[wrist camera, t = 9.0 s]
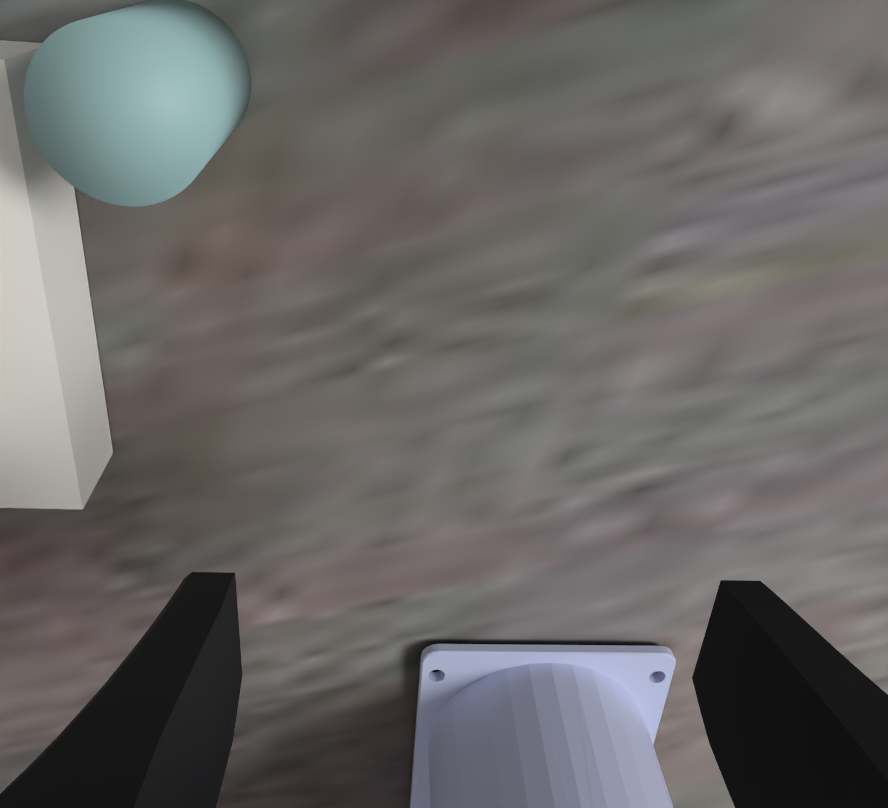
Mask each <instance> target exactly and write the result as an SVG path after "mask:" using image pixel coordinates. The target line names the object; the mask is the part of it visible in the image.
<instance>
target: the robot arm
mask: <svg viewBox="0 0 888 808" xmlns="http://www.w3.org/2000/svg"><path fill="white" fill-rule="evenodd" d="M674 668H675V658H674V655H673V653H672V651H671V650H670V649H669V648H667V647H664V646H626V645H514V644H433V645H430V646H428V647H426V648H425V649H424V650H423V651H422V654H421V661H420V675H419V688H418V702H417V716H416V729H415V743H414V757H413V770H412V784H411V798H410V808H673V806H672V802H671V799H670V796H669V793H668V790H667V787H666V784H665V781H664V778H663V775H662V771H661V768H660V765H659V762H658V759H657V756H656V753H655V750H654V747H653V744H654V740H655V737H656V733H657V729H658V726H659V722H660V719H661V715H662V711H663V708H664V704H665V700H666V697H667V693H668V690H669V686H670V682H671V679H672V675H673V672H674ZM432 670H441V671H439V672H432ZM656 671H659V672H657V673H653V672H656ZM652 673H653V674H652ZM692 679H693V683H694V687H695V691H696V695H697V699H698V703H699V707H700V711H701V715H702V718H703V722H704V725H705V729H706V732H707V736H708V740H709V743H710V746H711V748H712V751H713V753H714V756H715V759H716V761H717V764H718V766H719V769H720V771H721V774H722V776H723V779H724V781H725V784H726V786H727V789H728V791H729V794H730V796H731V798H732V801H733V803H734V806H735V808H888V695H887V694H886V693H885V692H884V691H883V690H881V689H880V688H879V687H878V686H877V685H876V684H875V683H873V682H872V681H871V680H870V679H869V678H868V677H866V676H865V675H864V674H863V673H862V672H861V671H860V670H859V669H857V668H856V667H855V666H854V665H853V664H852V663H851V662H850V661H848V660H847V659H846V658H845V657H844V656H843V655H842V654H841V653H840V652H838V651H837V650H836V649H835V648H834V647H833V646H832V645H831V644H830V643H829V642H827V641H826V640H825V639H824V638H823V637H822V636H821V635H820V634H819V633H818V632H817V631H815V630H814V629H813V628H812V627H811V626H810V625H809V624H808V623H807V622H806V621H805V620H803V619H802V618H801V617H800V616H799V615H798V614H797V613H796V612H795V611H794V610H793V609H791V608H790V607H789V606H788V605H787V604H786V603H785V602H784V601H783V600H781V599H780V598H779V597H778V596H777V595H776V594H775V593H774V592H773V591H771V590H770V589H769V588H768V587H767V586H766V585H764V584H763V583H762V582H761V581H728V580H721V582H720V585H719V589H718V592H717V596H716V599H715V602H714V606H713V609H712V613H711V616H710V619H709V623H708V626H707V630H706V633H705V636H704V640H703V643H702V647H701V650H700V654H699V657H698V660H697V664H696V667H695V671H694V674H693V677H692ZM241 680H242V666H241V652H240V637H239V623H238V609H237V594H236V580H235V573H211V572H192V573H190V574H189V575H188V576H187V577H186V578H184V580H183V581H182V583H181V584H180V586H179V587H178V589H177V590H176V592H175V593H174V595H173V596H172V598H171V599H170V600H169V602H168V603H167V605H166V606H165V607H164V609H163V610H162V612H161V613H160V614H159V616H158V617H157V619H156V620H155V621H154V623H153V624H152V625H151V627H150V628H149V629H148V631H147V632H146V633H145V634H144V636H143V637H142V638H141V640H140V641H139V642H138V644H137V645H136V646H135V647H134V649H133V650H132V651H131V652H130V654H129V655H128V656H127V657H126V659H125V660H124V661H123V662H122V663H121V665H120V666H119V667H118V668H117V670H116V671H115V672H114V673H113V675H112V676H111V677H110V678H109V680H108V681H107V682H106V683H105V684H104V686H103V687H102V688H101V689H100V690H99V691H98V693H97V694H96V695H95V696H94V697H93V698H92V699H91V700H90V701H89V703H88V704H87V705H86V706H85V707H84V708H83V709H82V710H81V711H80V713H79V714H78V715H77V716H76V717H75V718H74V719H73V720H72V721H71V723H70V724H69V725H68V726H67V727H66V728H65V729H64V730H63V732H62V733H61V734H60V735H59V736H58V737H57V738H56V739H55V740H54V741H53V742H52V743H51V744H50V745H49V746H48V747H47V748H46V749H45V750H44V751H43V752H42V754H41V755H40V756H39V757H38V758H37V759H36V760H35V761H34V762H33V763H32V764H31V765H30V766H29V767H28V768H27V769H26V770H25V771H24V772H22V773H21V774H20V775H19V776H18V777H17V778H16V779H15V780H14V781H13V782H12V783H11V784H10V785H9V786H8V787H7V788H6V789H5V790H4V791H3V792H2V793H1V794H0V808H215V807H216V804H217V800H218V796H219V792H220V788H221V785H222V781H223V777H224V773H225V769H226V765H227V761H228V758H229V754H230V750H231V746H232V741H233V734H234V728H235V721H236V715H237V708H238V701H239V694H240V687H241Z"/></svg>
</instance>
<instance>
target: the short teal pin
mask: <svg viewBox="0 0 888 808" xmlns="http://www.w3.org/2000/svg"><path fill="white" fill-rule="evenodd" d="M250 93H251V76H250V69H249V65H248V61H247V58H246V55H245V52H244V50H243V48H242V46H241V44H240V42H239V41H238V39H237V38H236V36H235V34H234V33H233V32H232V31H231V29H230V28H229V27H228V26H227V25H226V24H225V23H224V22H223V21H222V20H221V19H220V18H219V17H217V16H216V15H215V14H213V13H212V12H211V11H209V10H207V9H206V8H204V7H202V6H200V5H197V4H195V3H193V2H189V1H186V0H151V1H147V2H143V3H140V4H136V5H133V6H129V7H125V8H122V9H118V10H114V11H111V12H107V13H103V14H100V15H96V16H92V17H89V18H85V19H82V20H78V21H75V22H72V23H69V24H67V25H65V26H63V27H61V28H59V29H58V30H57V31H55V32H54V33H52V34H51V35H50V36H49V37H48V38H47V39H46V40H45V41H44V42H43V43H42V44H41V45H40V47H39V48H38V49H37V51H36V52H35V54H34V56H33V58H32V60H31V62H30V64H29V67H28V70H27V73H26V77H25V83H24V108H25V114H26V118H27V123H28V126H29V129H30V131H31V134H32V137H33V139H34V141H35V143H36V145H37V147H38V148H39V150H40V152H41V153H42V155H43V156H44V158H45V159H46V160H47V162H48V163H49V164H50V165H51V167H52V168H53V169H54V170H55V171H56V172H57V173H58V174H59V175H60V176H61V177H62V178H63V179H65V180H66V181H67V182H68V183H70V184H71V185H72V186H74V187H75V188H77V189H78V190H80V191H81V192H83V193H85V194H87V195H89V196H91V197H93V198H95V199H98V200H101V201H104V202H106V203H111V204H115V205H121V206H146V205H152V204H156V203H159V202H163V201H165V200H167V199H169V198H172V197H173V196H175V195H177V194H178V193H180V192H181V191H183V190H184V189H185V188H186V187H187V186H188V185H189V184H190V183H191V182H192V181H193V180H194V179H195V177H196V176H197V175H198V174H199V173H200V171H201V170H202V169H203V168H204V166H205V165H206V164H207V163H208V161H209V160H210V159H211V158H212V157H213V155H214V154H215V153H216V152H217V150H218V149H219V148H220V147H221V145H222V144H223V143H224V142H225V140H226V139H227V138H228V137H229V136H230V134H231V133H232V132H233V131H234V129H235V128H236V127H237V126H238V124H239V123H240V121H241V120H242V118H243V116H244V114H245V112H246V110H247V107H248V103H249V99H250Z"/></svg>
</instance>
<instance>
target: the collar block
mask: <svg viewBox="0 0 888 808" xmlns="http://www.w3.org/2000/svg"><path fill="white" fill-rule="evenodd" d="M41 44H42V43H36V42H21V41H5V40H0V508H36V509H83V508H84V506H85V504H86V502H87V501H88V499H89V497H90V495H91V493H92V491H93V489H94V488H95V486H96V484H97V482H98V480H99V478H100V476H101V475H102V473H103V471H104V469H105V467H106V465H107V463H108V462H109V460H110V458H111V456H112V454H113V449H112V442H111V435H110V428H109V422H108V415H107V408H106V401H105V394H104V388H103V381H102V374H101V367H100V360H99V354H98V347H97V340H96V333H95V326H94V320H93V313H92V306H91V299H90V292H89V286H88V279H87V272H86V265H85V258H84V252H83V245H82V238H81V231H80V224H79V218H78V211H77V204H76V197H75V190H74V186H72V185H71V184H70V183H68V182H67V181H66V180H65V179H63V178H62V177H61V176H60V175H59V174H58V173H57V172H56V171H55V170H54V169H53V168H52V167H51V165H50V164H49V163H48V162H47V160H46V159H45V158H44V156H43V155H42V153H41V152H40V150H39V148H38V147H37V145H36V143H35V141H34V139H33V137H32V134H31V131H30V129H29V126H28V123H27V118H26V114H25V108H24V83H25V77H26V73H27V70H28V67H29V64H30V62H31V60H32V58H33V56H34V54H35V52H36V51H37V49H38V48H39V47H40V45H41Z"/></svg>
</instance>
